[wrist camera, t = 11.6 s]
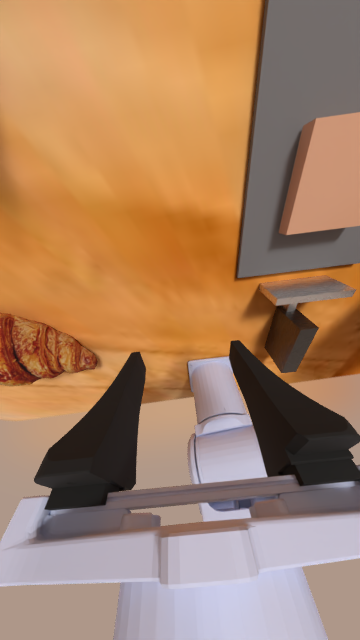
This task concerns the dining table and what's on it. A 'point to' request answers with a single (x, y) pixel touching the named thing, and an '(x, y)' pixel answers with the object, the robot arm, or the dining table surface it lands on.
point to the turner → (296, 316)
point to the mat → (297, 128)
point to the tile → (325, 177)
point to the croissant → (37, 352)
